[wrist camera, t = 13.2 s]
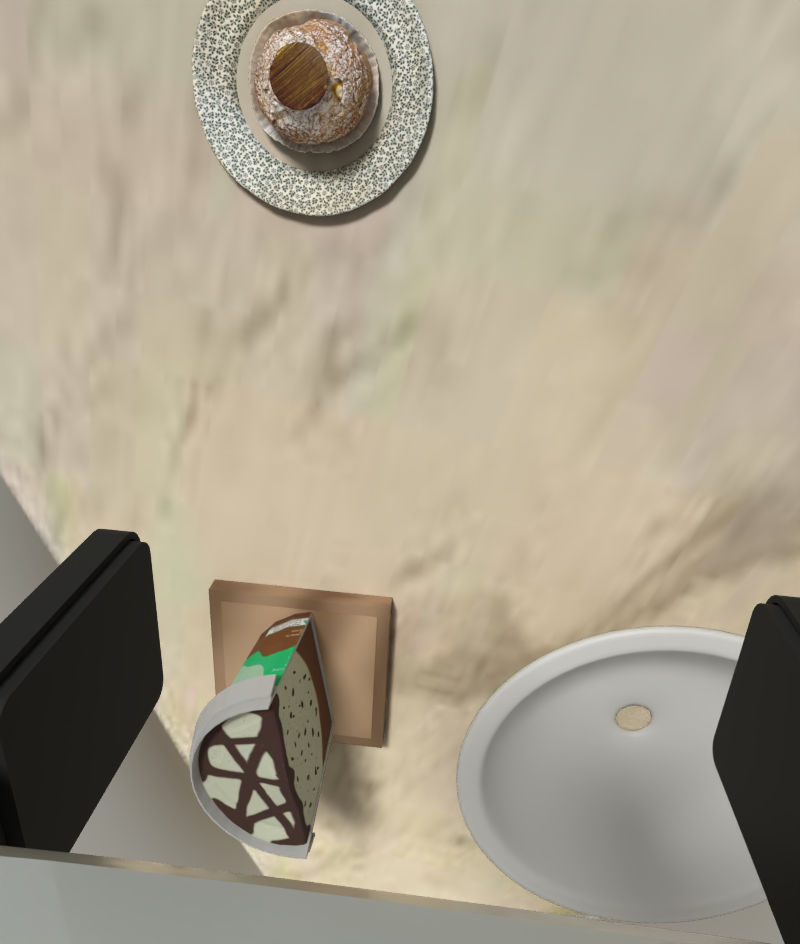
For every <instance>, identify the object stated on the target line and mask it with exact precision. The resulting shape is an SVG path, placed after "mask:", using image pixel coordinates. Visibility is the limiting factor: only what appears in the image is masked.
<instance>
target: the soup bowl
mask: <svg viewBox="0 0 800 944" xmlns="http://www.w3.org/2000/svg"><path fill="white" fill-rule="evenodd" d="M744 638H745V637H744V636H741V635H737V634H733V633H729V632H724V631H720V630H714V629H707V628H700V627H687V626H648V627H638V628H629V629H623V630H617V631H611V632H607V633H603V634H599V635H595V636H591V637H587V638H584V639H582V640H579V641H576V642H573V643H570V644H567V645H565V646H563V647H560V648H558V649H556V650H554V651H551V652H549V653H547V654H546V655H544V656H542V657H540V658H538V659H536V660H535V661H533V662H531V663H530V664H528V665H527V666H525V667H524V668H522V669H521V670H519V671H518V672H516V673H515V674H514V675H513V676H512V677H510V678H509V679H508V680H507V681H505V682H504V683H503V684H502V685H501V686H500V687H499V688H498V689H497V690H496V691H495V692H494V693H493V694H492V695H491V696H490V697H489V698H488V700H487V701H486V702H485V704H484V705H483V706H482V707H481V709H480V710H479V712H478V713H477V715H476V716H475V718H474V720H473V721H472V723H471V725H470V727H469V729H468V731H467V733H466V736H465V738H464V741H463V744H462V747H461V750H460V753H459V759H458V764H457V777H456V783H457V795H458V799H459V804H460V808H461V812H462V814H463V817H464V820H465V823H466V825H467V827H468V829H469V831H470V833H471V835H472V837H473V838H474V840H475V841H476V843H477V844H478V846H479V848H480V849H481V850H482V851H483V853H484V854H485V855H486V856H487V857H488V859H489V860H490V861H491V862H492V863H493V864H494V865H495V866H496V867H497V868H498V869H499V870H501V871H502V872H503V873H504V874H505V875H507V876H508V877H509V878H510V879H511V880H513V881H514V882H516V883H517V884H519V885H520V886H522V887H523V888H525V889H526V890H528V891H530V892H532V893H533V894H535V895H537V896H539V897H541V898H543V899H545V900H547V901H549V902H552V903H554V904H557V905H559V906H562V907H564V908H567V909H570V910H573V911H576V912H580V913H583V914H587V915H591V916H595V917H600V918H605V919H611V920H618V921H626V922H637V923H674V922H685V921H694V920H700V919H707V918H712V917H716V916H721V915H725V914H729V913H732V912H736V911H739V910H743V909H746V908H748V907H751V906H754V905H756V904H759V903H762V902H764V901H766V900H767V897H766V894H765V892H764V889H763V887H762V884H761V882H760V879H759V877H758V874H757V871H756V869H755V866H754V864H753V861H752V859H751V856H750V854H749V851H748V848H747V846H746V843H745V841H744V838H743V836H742V833H741V831H740V828H739V825H738V823H737V820H736V818H735V815H734V813H733V810H732V808H731V805H730V802H729V800H728V797H727V795H726V792H725V790H724V787H723V784H722V782H721V779H720V777H719V774H718V772H717V769H716V767H715V763H714V760H713V751H712V746H713V739H714V735H715V732H716V728H717V725H718V722H719V719H720V716H721V712H722V709H723V706H724V703H725V699H726V696H727V693H728V690H729V687H730V683H731V680H732V677H733V674H734V671H735V667H736V664H737V661H738V658H739V654H740V651H741V648H742V645H743V642H744ZM630 705H640V706H643V707H645V708H647V709H648V710H649V711H650V712H651V721H650V723H649V724H648V725H647V726H646V727H644V728H643V729H640V730H635V731H631V730H626V729H623V728H622V727H620V726H619V725H618V724H617V722H616V715H617V713H618V712H619V711H620V710H621V709H622V708H624V707H626V706H630Z"/></svg>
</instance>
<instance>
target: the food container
mask: <svg viewBox="0 0 800 944" xmlns="http://www.w3.org/2000/svg"><path fill="white" fill-rule="evenodd" d="M334 723H335V721H334V716H333V711H332V706H331V702H330V697H329V692H328V687H327V682H326V678H325V673H324V668H323V663H322V658H321V654H320V649H319V644H318V639H317V634H316V630H315V625H314V620H313V615H312V612H306V613H298V614H293V615H291V616H289V617H286V618H284V619H281V620H279V621H276V622H275V623H274V624H272V625H271V626H270V627H269V628H268V629H267V630H266V631H265V632H263V633H262V634H261V636H260V637H259V639H258V641H257V642H256V644H255V646H254V647H253V649H252V651H251V652H250V654H249V656H248V657H247V659H246V661H245V662H244V664H243V666H242V667H241V669H240V671H239V672H238V674H237V676H236V677H235V679H234V681H233V682H232V684H231V686H229V687H228V688H226V689H224V690H223V691H221V692H220V693H218V694H217V695H216V696H215V697H214V698H213V699H212V700H211V701H210V702H208V704H207V705H206V707H205V708H204V709H203V711H202V712H201V714H200V716H199V718H198V721H197V723H196V726H195V731H194V736H193V741H192V746H191V751H190V775H191V776H190V777H191V782H192V786H193V790H194V792H195V795H196V797H197V799H198V801H199V803H200V804H201V806H202V808H203V809H204V811H205V812H206V813H207V814H208V815H209V817H210V818H211V819H212V820H213V821H214V822H215V823H216V824H217V825H218V826H219V827H221V828H222V829H223V830H224V831H225V832H227V833H228V834H230V835H231V836H233V837H234V838H235V839H237V840H239V841H241V842H243V843H245V844H246V845H248V846H251V847H253V848H256V849H258V850H261V851H263V852H267V853H270V854H274V855H278V856H284V857H290V858H302V859H306V858H307V855H308V852H310V849H311V846H312V843H313V840H314V837H315V833H312V831H313V826H314V821H315V816H316V812H317V807H318V802H319V797H320V792H321V787H322V782H323V777H324V772H325V767H326V763H327V758H328V753H329V748H330V743H331V738H332V733H333V728H334Z"/></svg>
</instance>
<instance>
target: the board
mask: <svg viewBox="0 0 800 944" xmlns="http://www.w3.org/2000/svg"><path fill="white" fill-rule="evenodd" d="M209 600H210V615H211V630H212V645H213V660H214V675H215V690H216V695H217V694H218V693H220V692H221V691H223V690H224V689H226V688H228V687H229V686H231V684H232V682H233V681H234V679H235V677H236V676H237V674H238V672H239V671H240V669H241V667H242V666H243V664H244V662H245V661H246V659H247V657H248V656H249V654H250V652H251V651H252V649H253V647H254V646H255V644H256V642H257V641H258V639H259V637H260V636H261V634H262V633H263V632H265V631H266V630H267V629H268V628H269V627H270V626H271V625H272V624H274V623H275V622H276V621H279V620H281V619H284V618H286V617H289V616H291V615H293V614H298V613H306V612H312V615H313V620H314V625H315V630H316V634H317V639H318V644H319V649H320V654H321V658H322V663H323V668H324V673H325V678H326V682H327V687H328V692H329V697H330V702H331V706H332V711H333V716H334V721H335V723H334V728H333V733H332V738H331V742H336V743H345V744H354V745H362V746H371V747H379V748H382V744H383V738H384V725H385V708H386V692H387V675H388V658H389V641H390V624H391V608H392V598H389V597H380V596H370V595H360V594H350V593H340V592H331V591H321V590H311V589H301V588H291V587H282V586H272V585H262V584H252V583H243V582H233V581H223V580H214V582H213V584H212V585H211V587H210V588H209Z"/></svg>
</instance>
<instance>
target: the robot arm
mask: <svg viewBox="0 0 800 944" xmlns="http://www.w3.org/2000/svg"><path fill="white" fill-rule="evenodd" d="M162 687H163V669H162V659H161V649H160V640H159V630H158V621H157V611H156V601H155V592H154V582H153V572H152V563H151V553H150V548H149V545H148V544H147V543H146V542H140V539H139V537H138V535H137V534H136V533H135V532H128V531H118V530H108V529H97V530H96V531H94V532H93V533H92V534H91V535H90V536H89V537H88V538H87V539H86V540H85V541H84V542H83V543H82V544H81V545H80V546H79V547H78V548H77V549H76V550H75V551H74V552H73V553H72V554H71V555H70V556H69V557H68V558H67V559H66V560H65V561H64V562H63V563H62V564H61V565H59V566H58V568H56V570H54V572H52V573H51V574H50V575H49V576H48V577H47V578H46V579H45V580H44V581H43V582H42V583H41V584H40V585H39V586H38V587H37V588H36V589H35V590H34V591H33V592H32V593H31V594H30V595H29V596H28V597H27V598H26V599H25V600H24V601H23V602H22V603H21V604H20V605H19V606H18V607H17V608H16V609H15V610H14V611H13V612H12V613H11V614H10V615H9V616H8V617H7V618H6V619H5V620H4V621H3V622H2V623H1V624H0V944H769V943H763V942H756V941H750V940H743V939H735V938H728V937H721V936H713V935H706V934H698V933H691V932H684V931H676V930H669V929H662V928H654V927H647V926H640V925H633V924H625V923H618V922H610V921H603V920H596V919H589V918H581V917H574V916H566V915H559V914H552V913H544V912H537V911H529V910H522V909H514V908H506V907H499V906H491V905H484V904H476V903H468V902H461V901H453V900H446V899H438V898H430V897H423V896H415V895H407V894H399V893H392V892H384V891H376V890H368V889H361V888H353V887H345V886H338V885H330V884H322V883H314V882H307V881H299V880H291V879H283V878H275V877H266V876H258V875H250V874H242V873H234V872H226V871H218V870H210V869H201V868H194V867H186V866H178V865H170V864H162V863H153V862H146V861H137V860H129V859H121V858H113V857H104V856H94V855H85V854H76V853H69V852H70V850H71V848H72V847H73V845H74V844H75V842H76V840H77V838H78V837H79V835H80V833H81V832H82V830H83V828H84V826H85V825H86V823H87V821H88V820H89V818H90V816H91V814H92V813H93V811H94V809H95V808H96V806H97V804H98V803H99V801H100V799H101V797H102V796H103V794H104V792H105V790H106V789H107V787H108V785H109V784H110V782H111V780H112V778H113V777H114V775H115V773H116V772H117V770H118V768H119V767H120V765H121V763H122V761H123V760H124V758H125V756H126V755H127V753H128V751H129V749H130V748H131V746H132V744H133V743H134V741H135V739H136V737H137V735H138V734H139V732H140V731H141V729H142V727H143V726H144V724H145V722H146V720H147V719H148V717H149V715H150V714H151V712H152V710H153V708H154V707H155V705H156V703H157V701H158V699H159V697H160V694H161V691H162ZM712 751H713V760H714V763H715V767H716V769H717V772H718V774H719V777H720V779H721V782H722V784H723V787H724V790H725V792H726V795H727V797H728V800H729V802H730V805H731V808H732V810H733V813H734V815H735V818H736V820H737V823H738V825H739V828H740V831H741V833H742V836H743V838H744V841H745V843H746V846H747V848H748V851H749V854H750V856H751V859H752V861H753V864H754V866H755V869H756V871H757V874H758V877H759V879H760V882H761V884H762V887H763V889H764V892H765V894H766V897H767V900H768V902H769V905H770V907H771V910H772V912H773V915H774V917H775V920H776V922H777V925H778V928H779V930H780V933H781V935H782V938H783V941H784V943H785V944H800V598H799V597H789V596H778V595H774V596H771V597H770V598H769V599H768V600H767V602H766V604H762V603H760V604H757V605H756V607H755V608H754V610H753V613H752V616H751V619H750V622H749V626H748V629H747V632H746V635H745V638H744V642H743V645H742V648H741V651H740V654H739V658H738V661H737V664H736V667H735V671H734V674H733V677H732V680H731V683H730V687H729V690H728V693H727V696H726V699H725V703H724V706H723V709H722V712H721V716H720V719H719V722H718V725H717V728H716V732H715V735H714V739H713V746H712Z"/></svg>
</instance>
